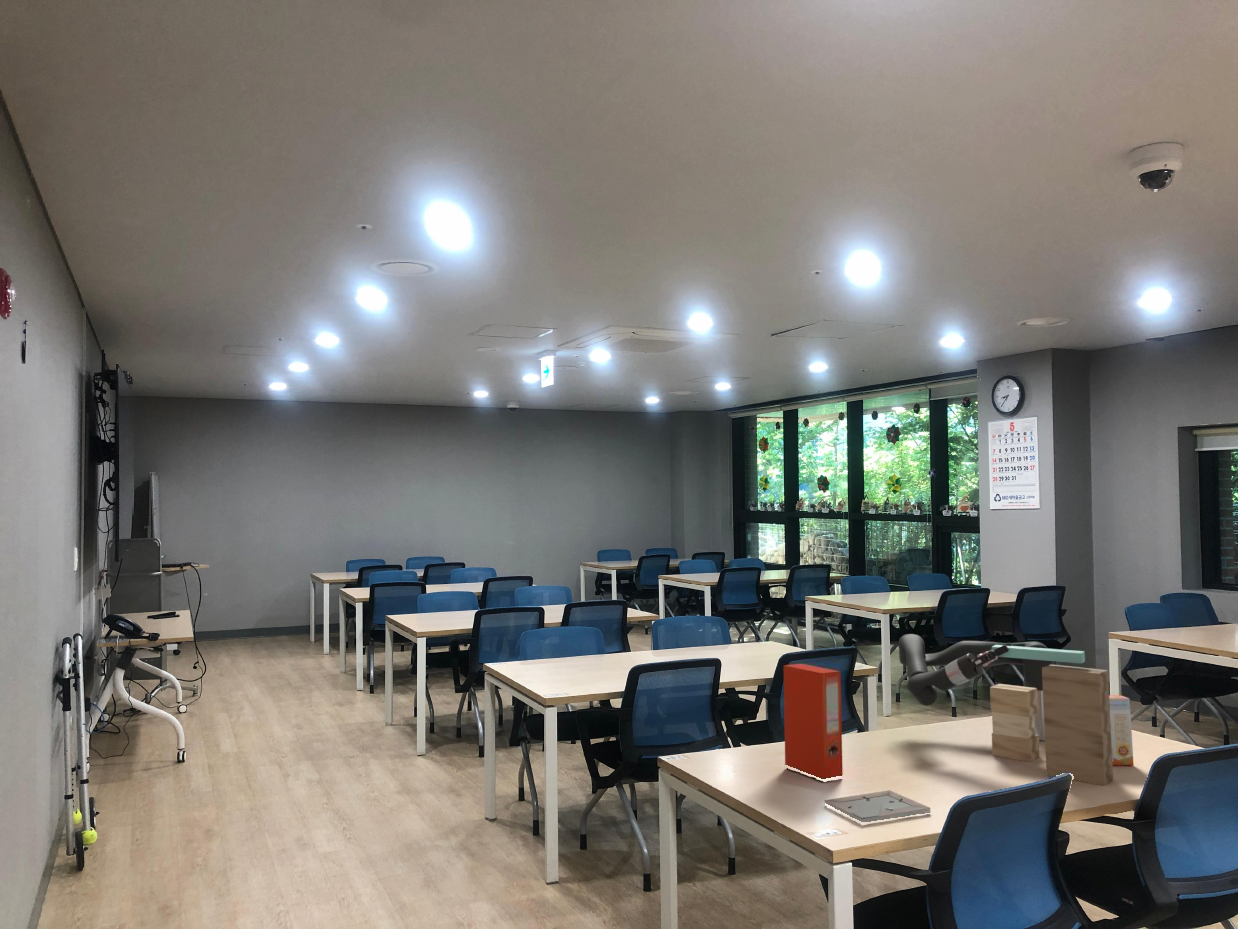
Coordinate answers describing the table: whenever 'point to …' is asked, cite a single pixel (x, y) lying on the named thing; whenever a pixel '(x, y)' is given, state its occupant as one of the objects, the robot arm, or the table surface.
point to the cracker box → (1121, 730)
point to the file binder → (813, 720)
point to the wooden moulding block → (1077, 723)
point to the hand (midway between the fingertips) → (1009, 646)
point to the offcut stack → (1014, 722)
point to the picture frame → (877, 806)
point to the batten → (1043, 654)
